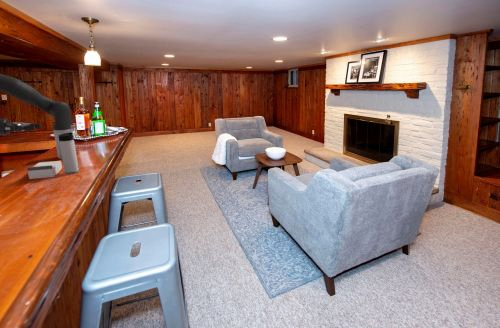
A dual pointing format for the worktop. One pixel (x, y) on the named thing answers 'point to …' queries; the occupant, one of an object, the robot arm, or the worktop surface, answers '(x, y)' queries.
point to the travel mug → (68, 153)
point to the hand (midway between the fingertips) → (37, 127)
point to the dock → (44, 169)
